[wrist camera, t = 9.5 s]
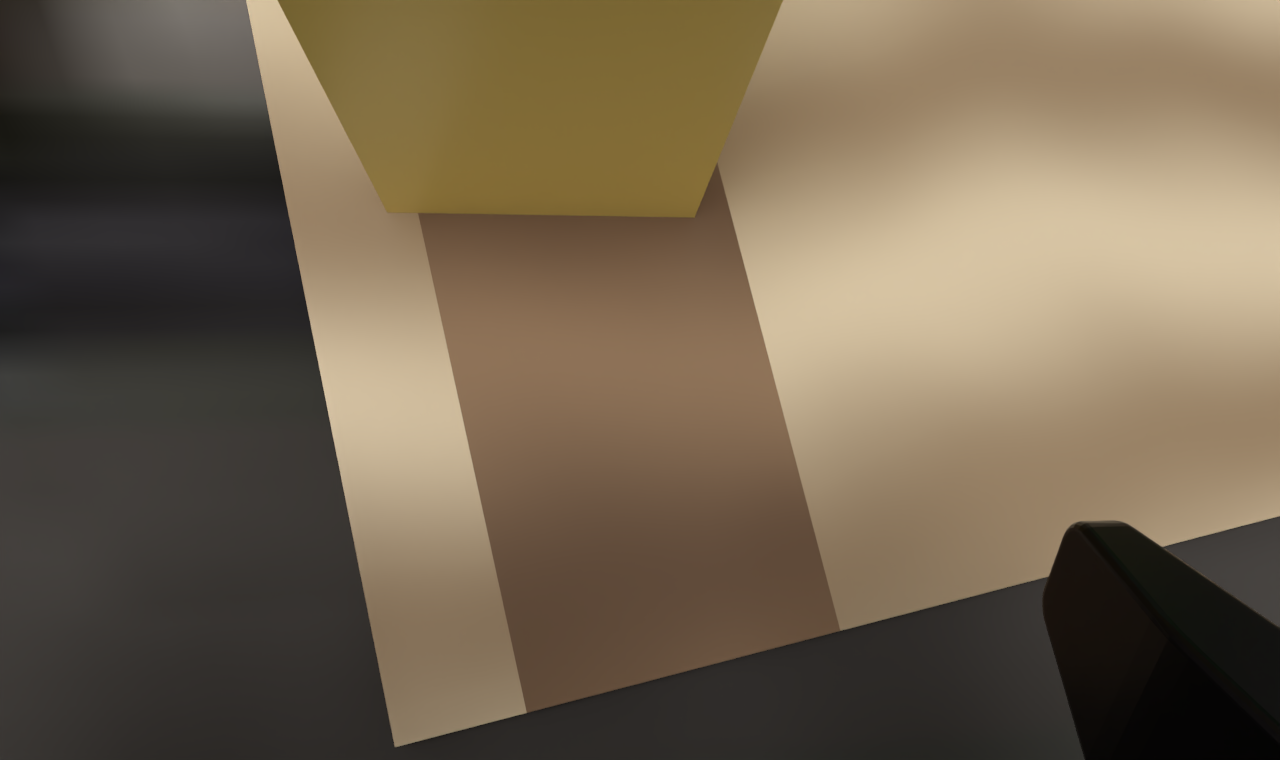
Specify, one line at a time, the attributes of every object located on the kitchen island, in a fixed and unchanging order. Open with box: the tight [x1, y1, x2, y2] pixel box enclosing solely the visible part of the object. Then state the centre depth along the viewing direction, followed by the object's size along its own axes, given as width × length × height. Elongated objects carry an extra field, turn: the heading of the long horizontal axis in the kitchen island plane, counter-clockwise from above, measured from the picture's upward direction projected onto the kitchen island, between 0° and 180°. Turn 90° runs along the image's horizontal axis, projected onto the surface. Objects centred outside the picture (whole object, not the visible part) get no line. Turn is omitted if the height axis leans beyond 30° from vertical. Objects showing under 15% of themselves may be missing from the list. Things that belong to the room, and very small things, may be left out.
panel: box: [246, 0, 1280, 747], centre depth 18 cm, size 15×21×1 cm
